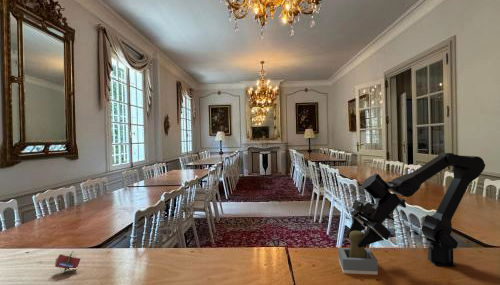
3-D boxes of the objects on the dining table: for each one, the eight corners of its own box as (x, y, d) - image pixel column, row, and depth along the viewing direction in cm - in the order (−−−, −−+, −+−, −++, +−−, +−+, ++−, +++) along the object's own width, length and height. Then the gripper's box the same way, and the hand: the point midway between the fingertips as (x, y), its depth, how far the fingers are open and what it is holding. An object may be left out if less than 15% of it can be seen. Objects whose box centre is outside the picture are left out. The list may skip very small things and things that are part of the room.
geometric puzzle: (87, 259, 109) (71, 243, 108) (83, 267, 103) (66, 250, 101) (69, 274, 108) (53, 258, 106) (64, 282, 101) (46, 265, 100)
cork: (371, 265, 101) (370, 232, 101) (356, 268, 99) (355, 235, 99) (358, 259, 106) (358, 228, 106) (344, 262, 104) (343, 230, 104)
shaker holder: (370, 261, 107) (369, 248, 107) (377, 274, 96) (377, 260, 96) (338, 260, 109) (338, 247, 109) (343, 273, 98) (343, 259, 98)
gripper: (355, 187, 112) (326, 218, 111) (380, 196, 93) (346, 234, 93) (376, 208, 112) (348, 239, 112) (405, 221, 94) (371, 258, 93)
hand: (352, 241), depth 102 cm, fingers open, 9 cm apart
